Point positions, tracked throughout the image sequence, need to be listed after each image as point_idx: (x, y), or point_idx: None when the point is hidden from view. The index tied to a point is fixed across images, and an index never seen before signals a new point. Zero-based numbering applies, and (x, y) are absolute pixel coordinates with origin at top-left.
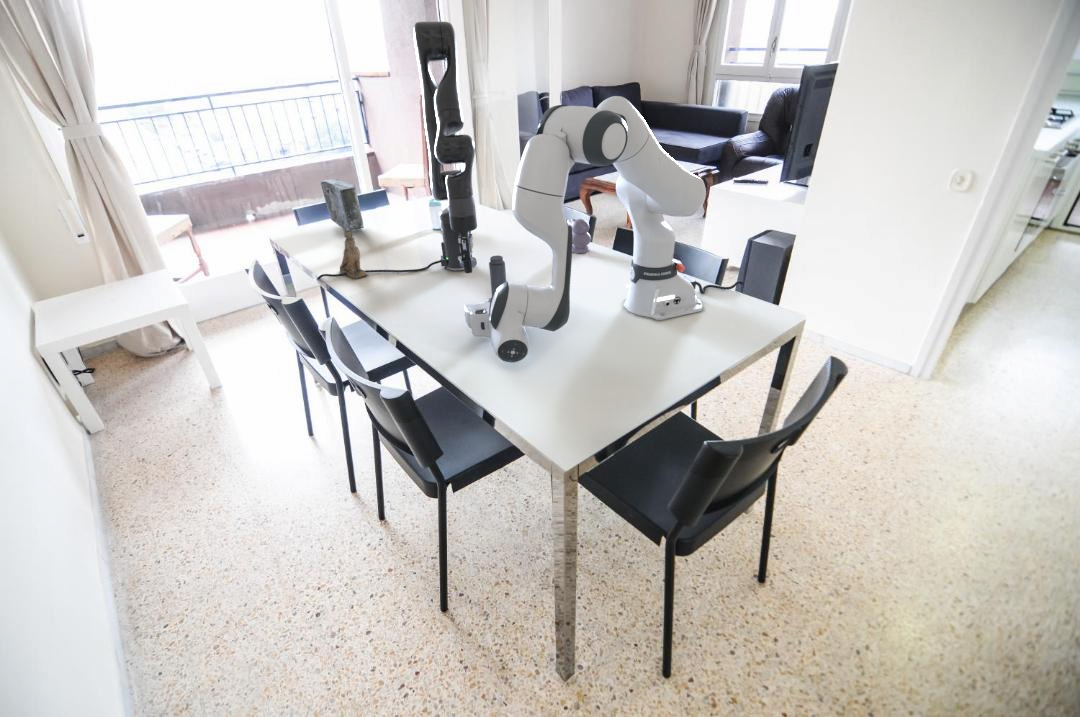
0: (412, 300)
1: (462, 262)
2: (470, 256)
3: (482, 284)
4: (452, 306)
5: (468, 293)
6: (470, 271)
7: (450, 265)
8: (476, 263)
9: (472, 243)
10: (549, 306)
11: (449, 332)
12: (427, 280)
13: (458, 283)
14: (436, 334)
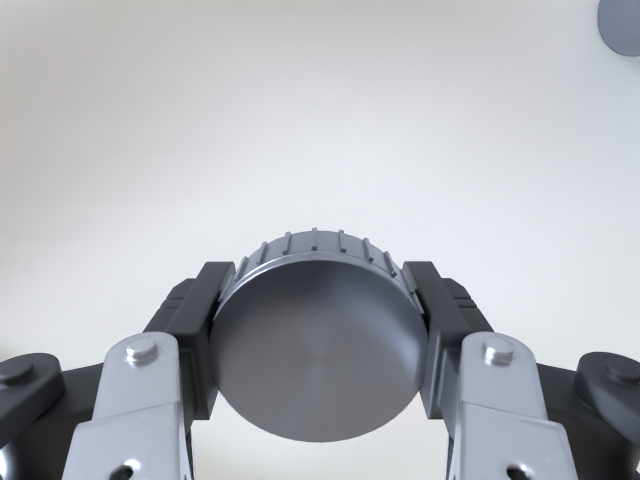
0: (254, 459)
1: (399, 410)
2: (538, 385)
3: (42, 141)
4: None
5: (186, 222)
6: (451, 281)
7: None
8: (342, 236)
9: (110, 468)
10: None
11: (636, 287)
12: None
13: (39, 285)
14: (631, 338)
